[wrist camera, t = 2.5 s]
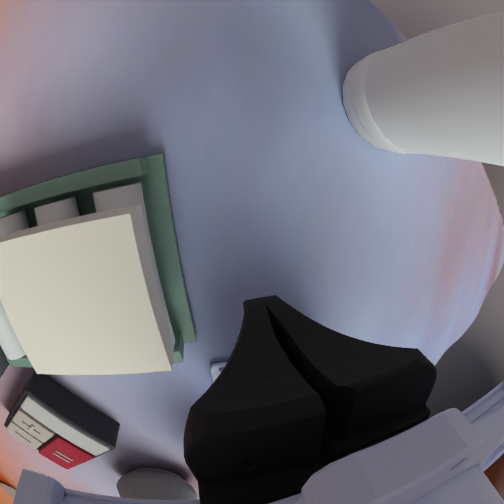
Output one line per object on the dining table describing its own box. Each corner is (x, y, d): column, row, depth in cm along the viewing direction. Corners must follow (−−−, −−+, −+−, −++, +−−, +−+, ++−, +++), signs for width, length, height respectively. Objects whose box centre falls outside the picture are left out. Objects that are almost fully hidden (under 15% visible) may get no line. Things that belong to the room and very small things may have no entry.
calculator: (1, 429, 19) (22, 394, 17) (11, 407, 23) (38, 365, 21) (68, 473, 23) (115, 453, 21) (74, 450, 27) (121, 423, 25)
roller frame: (163, 153, 17) (139, 153, 10) (196, 335, 22) (198, 404, 15) (-36, 211, 15) (-89, 236, 8) (11, 347, 20) (-20, 394, 13)
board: (140, 204, 14) (130, 213, 12) (174, 345, 17) (172, 370, 15) (3, 235, 13) (-18, 247, 11) (48, 353, 16) (37, 373, 14)
